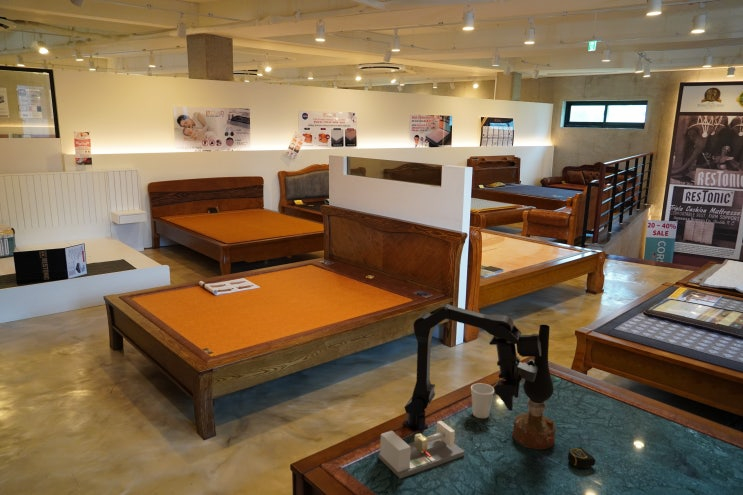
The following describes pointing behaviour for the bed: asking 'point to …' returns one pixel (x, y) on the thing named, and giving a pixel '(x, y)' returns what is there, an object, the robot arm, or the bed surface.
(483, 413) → the dixie cup
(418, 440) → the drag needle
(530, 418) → the oil lamp
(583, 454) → the tape measure
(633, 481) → the bed surface
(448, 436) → the plunger
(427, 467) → the base
